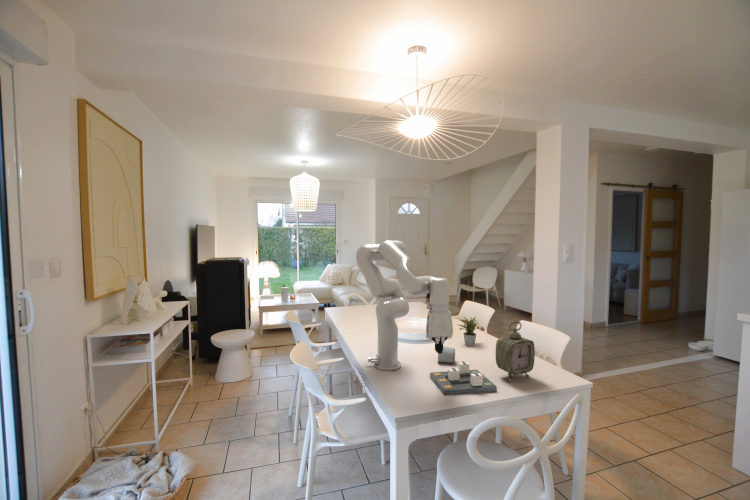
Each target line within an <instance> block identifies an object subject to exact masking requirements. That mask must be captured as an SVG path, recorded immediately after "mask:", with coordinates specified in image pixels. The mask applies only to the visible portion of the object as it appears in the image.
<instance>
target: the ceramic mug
mask: <svg viewBox="0 0 750 500" xmlns="http://www.w3.org/2000/svg"><path fill="white" fill-rule="evenodd" d="M455 361H456V349H455V348H454V347H451V346H444V345H443V351H442V353H440V354H438V353H437V362H438V363H449V364H453V363H455Z"/></svg>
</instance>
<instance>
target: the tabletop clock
mask: <svg viewBox="0 0 750 500" xmlns="http://www.w3.org/2000/svg"><path fill="white" fill-rule="evenodd" d="M514 324H519V327H518V328H517V327H514V328H513V329H511V326H512V325H514ZM521 328H522V323H521V322H519V321H513V322H511V323H510V324H509V326H508V329H509V330H510V331H511V332H509V334H508V336H504V337H501V338H498V339H497V340H496V344H495V363H496V366H497V368H498V369H500V370H502V371H504V372H506V373H507V376H508V378H507V379H506V382H508V383H511V382H512V379H511V377H512V375H514V376H518V375H519V376H520V375H523V374H525V378H526V379H529V378H530V375H529V374H527V373H529V372H531V371H533V369H534V367H535V359H536V357H535V355H536V354H535V353H536V352H535V343H534V341H533V340H530V339H528V338H525V337H523V336H522V335H521V334H520V332H518V331H520V330H521Z"/></svg>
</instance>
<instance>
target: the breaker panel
mask: <svg viewBox="0 0 750 500" xmlns="http://www.w3.org/2000/svg"><path fill="white" fill-rule="evenodd" d="M473 373H480V374H481V375H482V376H483V381H482V386H472V385H471V384H470V374H473ZM429 377H430V379H431V380H432V382H433V383H434V384H435V385H436V387H437V389H438V390H439V391H440V393H442V395H443V396H455V395H469V394H483V393H495V392H496V393H497V389H498V387H497V386H496V384H495V383H493V382H492V381H491V380H490V379H489V378H488V377H486V376H485V375H484V374H483V373H482V372H481V371H480V370H478V369H469V373H464V374H460V380H454V381H450V380H449V379H448V371H431V372H430V373H429Z"/></svg>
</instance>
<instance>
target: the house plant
mask: <svg viewBox="0 0 750 500" xmlns="http://www.w3.org/2000/svg"><path fill="white" fill-rule="evenodd" d="M463 318H464V320H465V321H464V320H462V323H463V325H462V324H458V323H457V324H456V325H457V326H458V327H460V328H459V331H461V330H465V332H463V338H464V345H465V346H467V347H473V346H475V343H476V338H477V333H475V330H477V329H478V330H479V329H480V330H482V328H480V327H479V328H476V326H477V325H479V322H478V321H479V320H478V319H477V316H474V317H471V318H470V319H468V318H466V317H465V316H463ZM458 320H459V321H461V319H458Z"/></svg>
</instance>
